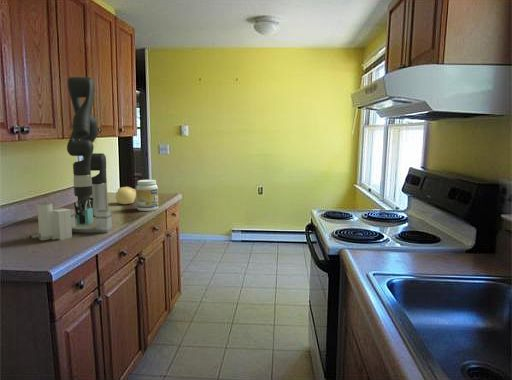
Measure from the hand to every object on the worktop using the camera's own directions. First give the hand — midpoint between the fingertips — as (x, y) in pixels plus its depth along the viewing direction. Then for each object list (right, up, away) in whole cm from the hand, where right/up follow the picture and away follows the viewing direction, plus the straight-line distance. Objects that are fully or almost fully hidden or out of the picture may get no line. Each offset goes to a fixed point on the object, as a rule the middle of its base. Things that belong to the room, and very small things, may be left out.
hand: (85, 221), depth 173 cm
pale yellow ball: (-4, +6, +67) cm, 67 cm away
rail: (0, -4, +1) cm, 4 cm away
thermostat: (-10, -6, -11) cm, 17 cm away
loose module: (0, -1, 0) cm, 1 cm away
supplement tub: (+14, +3, +50) cm, 52 cm away
